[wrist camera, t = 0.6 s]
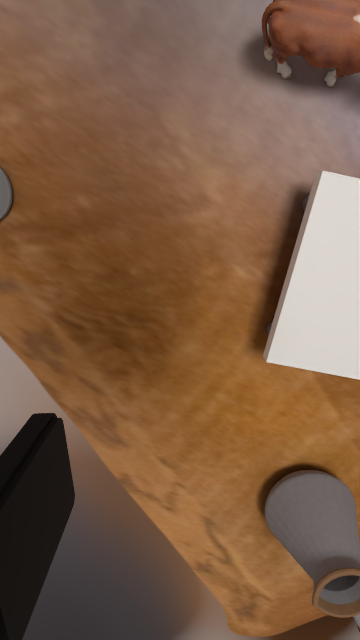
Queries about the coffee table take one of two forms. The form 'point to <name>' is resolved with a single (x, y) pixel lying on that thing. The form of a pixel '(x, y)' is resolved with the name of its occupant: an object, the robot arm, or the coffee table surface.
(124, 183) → the coffee table surface
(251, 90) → the coffee table surface
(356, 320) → the display shelf
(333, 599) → the coffee pot
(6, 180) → the pocket watch
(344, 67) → the bull figurine
